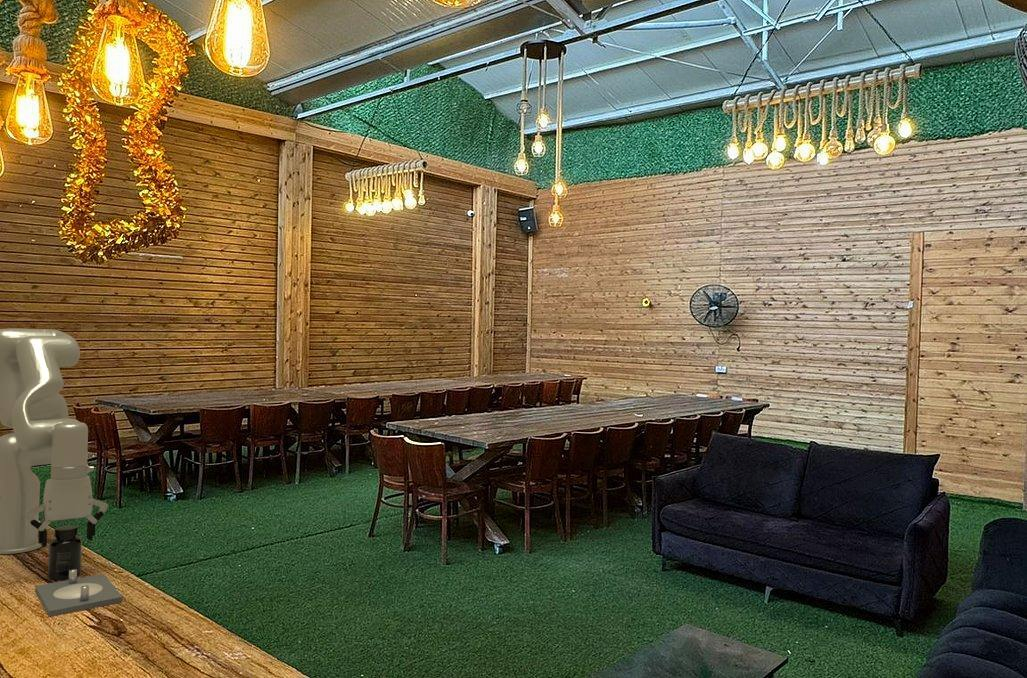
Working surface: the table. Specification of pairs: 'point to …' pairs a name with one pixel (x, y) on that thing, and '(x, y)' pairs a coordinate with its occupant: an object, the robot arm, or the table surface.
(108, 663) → the table surface
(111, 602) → the board
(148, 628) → the table surface
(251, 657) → the table surface
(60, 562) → the supplement bottle
